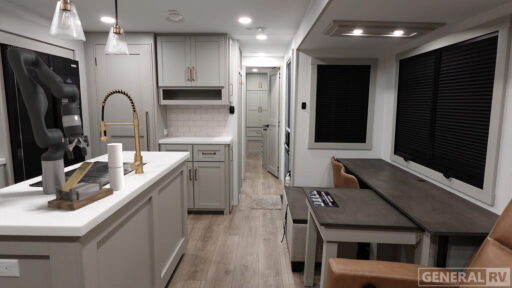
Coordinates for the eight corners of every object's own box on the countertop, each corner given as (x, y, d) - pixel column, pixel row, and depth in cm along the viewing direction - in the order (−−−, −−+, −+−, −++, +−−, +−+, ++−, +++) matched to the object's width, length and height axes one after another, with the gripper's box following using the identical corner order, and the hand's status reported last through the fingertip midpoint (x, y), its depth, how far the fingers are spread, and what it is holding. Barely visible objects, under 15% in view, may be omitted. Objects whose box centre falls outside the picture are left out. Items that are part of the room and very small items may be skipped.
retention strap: (60, 191, 126) (58, 189, 125) (85, 163, 139) (83, 161, 138) (70, 192, 125) (68, 190, 124) (93, 163, 138) (92, 161, 137)
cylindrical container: (108, 191, 150) (105, 145, 147) (111, 187, 157) (108, 143, 153) (123, 190, 152) (120, 144, 148) (125, 186, 159) (123, 143, 155)
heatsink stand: (48, 207, 125) (46, 188, 124) (90, 191, 149) (89, 175, 147) (74, 210, 123) (72, 190, 121) (113, 193, 146) (112, 177, 144)
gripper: (77, 125, 146) (83, 155, 148) (53, 126, 132) (59, 160, 134) (89, 123, 144) (95, 154, 146) (66, 125, 130) (72, 159, 132)
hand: (78, 157), depth 140 cm, fingers open, 8 cm apart
